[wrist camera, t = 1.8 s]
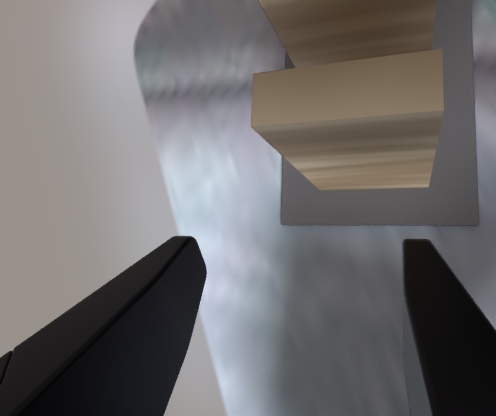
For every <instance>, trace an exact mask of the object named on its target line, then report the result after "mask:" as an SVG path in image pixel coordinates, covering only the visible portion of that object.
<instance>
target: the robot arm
mask: <svg viewBox="0 0 496 416" xmlns="http://www.w3.org/2000/svg"><path fill="white" fill-rule="evenodd" d="M402 259H403V342H404V371H405V380H406V388H407V395H408V403H409V410H410V416H496V330H495V329H494V327H493V326H492V324H491V323H490V322H489V320H488V319H487V318H486V316H485V315H484V313H483V312H482V311H481V309H480V308H479V307H478V305H477V304H476V303H475V301H474V300H473V298H472V297H471V296H470V294H469V293H468V292H467V290H466V289H465V288H464V286H463V285H462V283H461V282H460V281H459V279H458V278H457V277H456V275H455V274H454V272H453V271H452V270H451V268H450V267H449V266H448V264H447V263H446V262H445V260H444V259H443V257H442V256H441V255H440V253H439V252H438V251H437V249H436V248H435V247H434V245H433V244H432V243H431V241H429V240H427V239H405V240H404V241H403V243H402ZM206 275H207V270H206V265H205V262H204V259H203V257H202V254H201V251H200V249H199V246H198V243H197V241H196V239H195V238H194V237H192V236H174V237H172V238H170V239H169V240H168V241H166V242H165V243H163V244H162V245H161V246H159V247H158V248H156V249H155V250H153V251H152V252H151V253H149V254H148V255H146V256H145V257H143V258H142V259H141V260H139V261H138V262H136V263H135V264H133V265H132V266H130V267H129V268H128V269H126V270H125V271H123V272H122V273H120V274H119V275H118V276H116V277H115V278H113V279H112V280H110V281H109V282H108V283H106V284H105V285H103V286H102V287H101V288H99V289H98V290H96V291H95V292H93V293H92V294H91V295H89V296H88V297H86V298H85V299H83V300H82V301H81V302H79V303H78V304H76V305H75V306H73V307H72V308H71V309H69V310H68V311H66V312H65V313H64V314H62V315H61V316H59V317H58V318H57V319H55V320H54V321H52V322H51V323H49V324H48V325H46V326H45V327H44V328H42V329H41V330H39V331H38V332H36V333H35V334H34V335H32V336H31V337H29V338H28V339H26V340H25V341H23V342H22V343H21V344H19V345H18V346H16V347H15V348H14V350H13V351H9V352H8V353H6V354H5V355H3V356H2V357H1V358H0V416H163V415H164V413H165V410H166V407H167V405H168V401H169V399H170V396H171V394H172V391H173V388H174V386H175V383H176V380H177V377H178V375H179V372H180V369H181V367H182V364H183V361H184V358H185V356H186V353H187V350H188V346H189V343H190V340H191V336H192V332H193V328H194V324H195V320H196V317H197V313H198V309H199V305H200V301H201V297H202V293H203V289H204V285H205V281H206Z"/></svg>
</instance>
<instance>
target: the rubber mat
mask: <svg viewBox="0 0 496 416" xmlns="http://www.w3.org/2000/svg"><path fill="white" fill-rule="evenodd" d="M436 49H442V57H443V96H444V112H443V117H442V122H441V128H440V133H439V138H438V143H437V148H436V153H435V158H434V163H433V168H432V173H431V178H430V183H429V188H397V189H361V190H325V191H320V190H319V189H318V188H317V187H316V186H315V185H314V184H312V183H311V182H310V181H309V180H308V179H307V178H306V177H305V176H304V175H303V174H302V173H301V172H299V171H298V170H297V169H296V168H295V167H294V166H293V165H292V164H291V163H290V162H289V161H287V160H286V159H285V158H284V157H283V164H282V199H281V225H466V226H478V225H479V209H478V181H477V153H476V126H475V98H474V70H473V42H472V15H471V0H436V11H435V22H434V33H433V44H432V50H436ZM292 68H295V66H294V64H293V62H292V61H291V59H290V57H289V55H288V53H287V52H286V59H285V69H292Z"/></svg>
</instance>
